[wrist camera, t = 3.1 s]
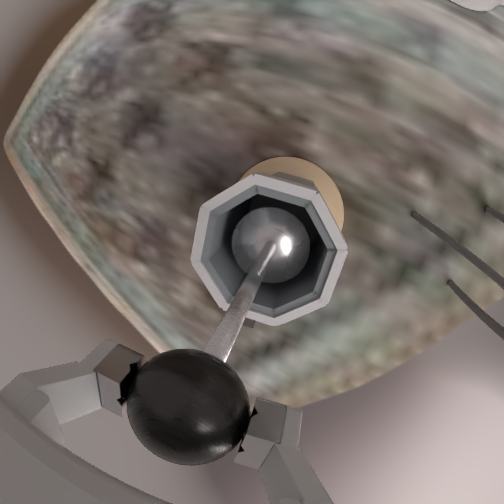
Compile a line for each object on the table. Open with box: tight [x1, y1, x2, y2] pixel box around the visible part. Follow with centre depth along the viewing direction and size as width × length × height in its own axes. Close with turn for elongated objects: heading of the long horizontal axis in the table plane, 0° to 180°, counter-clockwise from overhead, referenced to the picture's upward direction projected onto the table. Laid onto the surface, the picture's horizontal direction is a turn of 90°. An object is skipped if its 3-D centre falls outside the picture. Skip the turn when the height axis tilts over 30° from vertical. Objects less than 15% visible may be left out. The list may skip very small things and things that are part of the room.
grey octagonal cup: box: [190, 157, 348, 328], centre depth 28 cm, size 14×13×14 cm
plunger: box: [127, 206, 310, 466], centre depth 15 cm, size 6×6×19 cm
